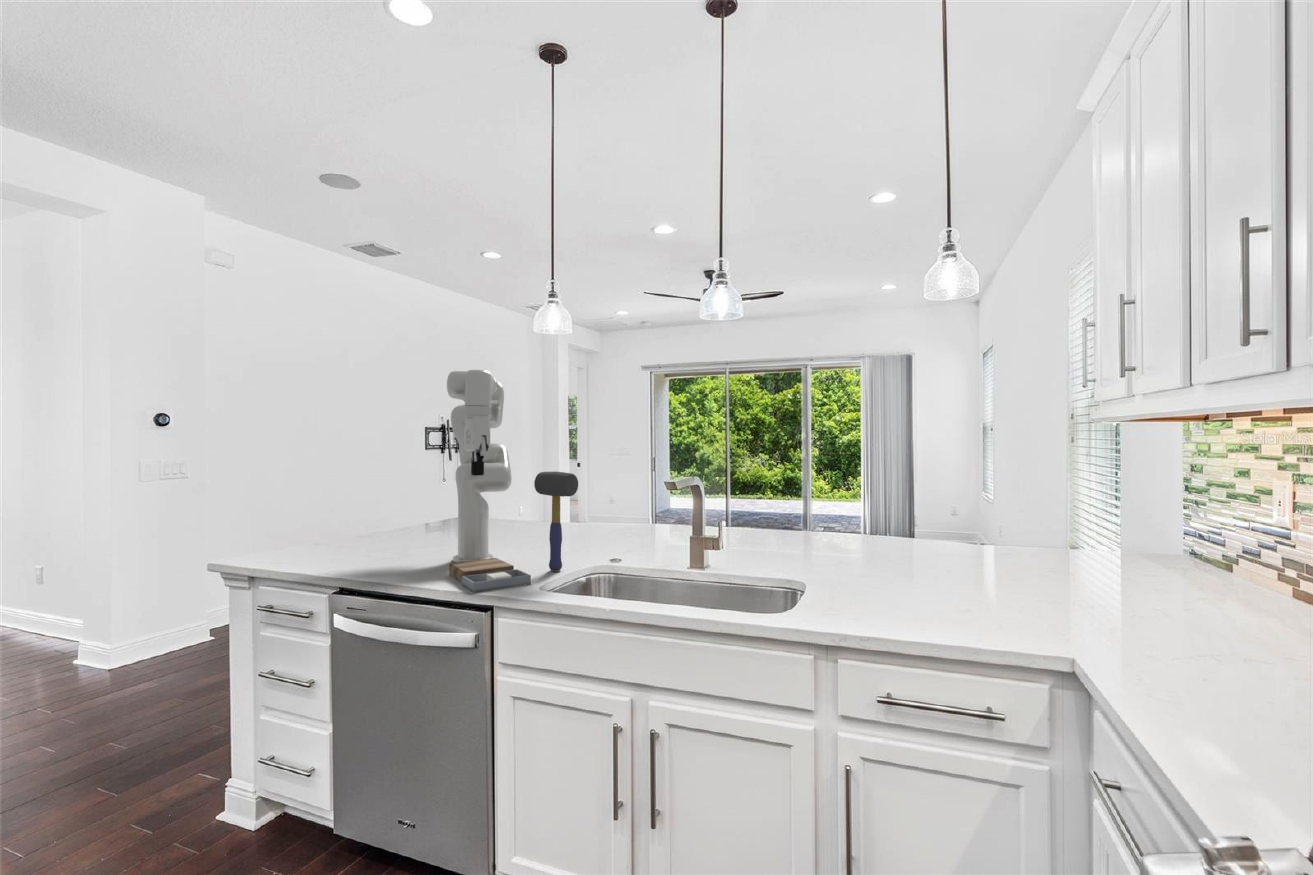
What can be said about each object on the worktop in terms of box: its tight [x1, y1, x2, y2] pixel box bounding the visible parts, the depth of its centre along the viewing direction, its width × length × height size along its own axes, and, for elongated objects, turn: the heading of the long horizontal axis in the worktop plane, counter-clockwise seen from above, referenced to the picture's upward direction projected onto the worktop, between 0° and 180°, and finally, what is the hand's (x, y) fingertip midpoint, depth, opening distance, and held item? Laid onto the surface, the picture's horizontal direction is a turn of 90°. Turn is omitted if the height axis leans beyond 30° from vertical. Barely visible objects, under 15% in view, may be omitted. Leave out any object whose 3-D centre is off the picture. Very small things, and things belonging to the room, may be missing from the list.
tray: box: [461, 568, 532, 593], centre depth 168 cm, size 9×16×2 cm, turn 126°
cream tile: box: [487, 572, 511, 581], centre depth 167 cm, size 5×5×2 cm
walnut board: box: [448, 557, 515, 584], centre depth 178 cm, size 14×14×4 cm
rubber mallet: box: [533, 471, 579, 573], centre depth 186 cm, size 12×8×30 cm, turn 60°
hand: (477, 475), depth 181 cm, fingers closed
